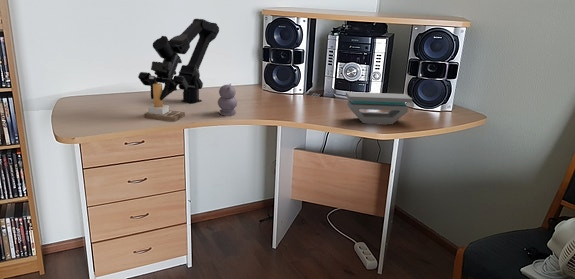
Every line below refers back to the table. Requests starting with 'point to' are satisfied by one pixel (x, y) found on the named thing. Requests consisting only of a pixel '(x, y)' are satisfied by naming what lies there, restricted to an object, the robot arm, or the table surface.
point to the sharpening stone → (378, 106)
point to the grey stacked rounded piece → (227, 100)
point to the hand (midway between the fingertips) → (156, 99)
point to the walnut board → (166, 116)
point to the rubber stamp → (158, 101)
